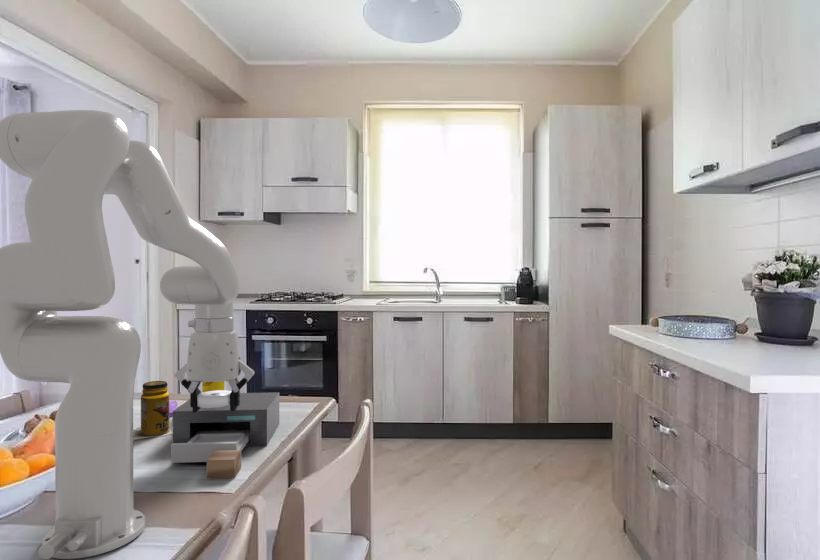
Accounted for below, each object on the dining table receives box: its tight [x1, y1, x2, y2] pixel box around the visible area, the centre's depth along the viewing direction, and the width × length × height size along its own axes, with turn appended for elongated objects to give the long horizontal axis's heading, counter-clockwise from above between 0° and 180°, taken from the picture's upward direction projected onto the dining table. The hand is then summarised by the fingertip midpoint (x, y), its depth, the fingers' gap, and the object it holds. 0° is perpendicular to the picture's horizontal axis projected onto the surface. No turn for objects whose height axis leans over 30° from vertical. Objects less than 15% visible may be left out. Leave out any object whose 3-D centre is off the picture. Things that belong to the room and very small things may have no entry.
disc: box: [197, 389, 232, 408], centre depth 106 cm, size 7×7×2 cm
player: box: [172, 392, 280, 447], centre depth 118 cm, size 16×20×8 cm
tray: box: [170, 430, 250, 464], centre depth 107 cm, size 16×12×4 cm
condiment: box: [133, 380, 173, 441], centre depth 119 cm, size 7×8×12 cm
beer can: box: [201, 381, 227, 393], centre depth 139 cm, size 6×6×15 cm
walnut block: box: [206, 450, 242, 480], centre depth 96 cm, size 5×5×4 cm
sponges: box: [169, 399, 179, 418], centre depth 138 cm, size 7×13×2 cm, turn 22°
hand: (215, 409), depth 106 cm, fingers closed on disc, 7 cm apart
